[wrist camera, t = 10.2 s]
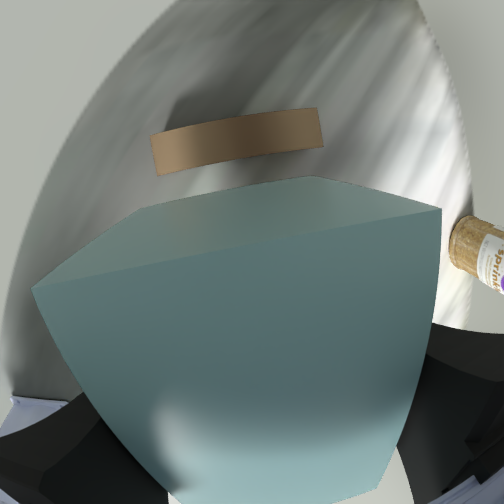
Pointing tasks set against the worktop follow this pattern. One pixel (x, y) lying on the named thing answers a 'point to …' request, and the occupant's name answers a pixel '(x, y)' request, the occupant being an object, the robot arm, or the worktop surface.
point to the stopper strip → (235, 139)
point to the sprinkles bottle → (479, 250)
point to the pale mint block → (254, 336)
